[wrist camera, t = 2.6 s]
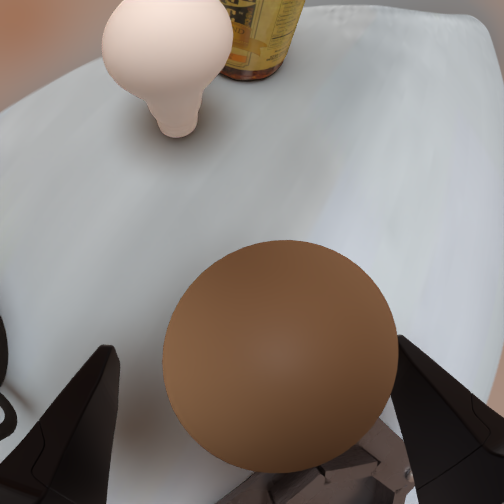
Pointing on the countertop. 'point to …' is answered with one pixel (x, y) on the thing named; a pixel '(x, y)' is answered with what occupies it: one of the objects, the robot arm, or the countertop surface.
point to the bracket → (339, 477)
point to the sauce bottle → (260, 36)
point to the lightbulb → (168, 55)
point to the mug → (10, 415)
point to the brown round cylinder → (280, 356)
